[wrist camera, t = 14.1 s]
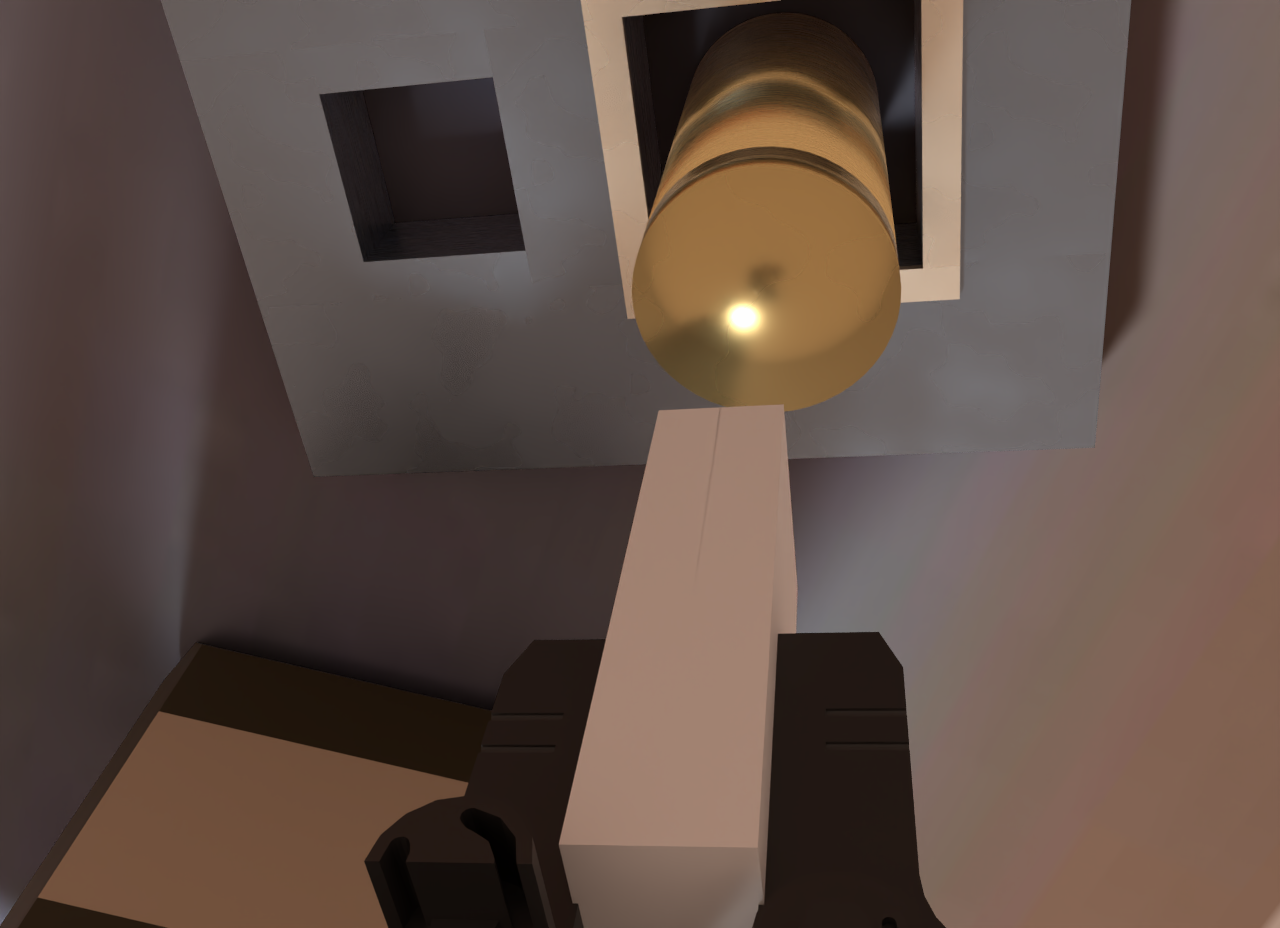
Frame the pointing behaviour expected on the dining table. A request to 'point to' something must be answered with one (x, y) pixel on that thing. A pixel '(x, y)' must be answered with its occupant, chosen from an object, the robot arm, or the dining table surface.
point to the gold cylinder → (772, 222)
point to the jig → (642, 231)
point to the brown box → (251, 801)
